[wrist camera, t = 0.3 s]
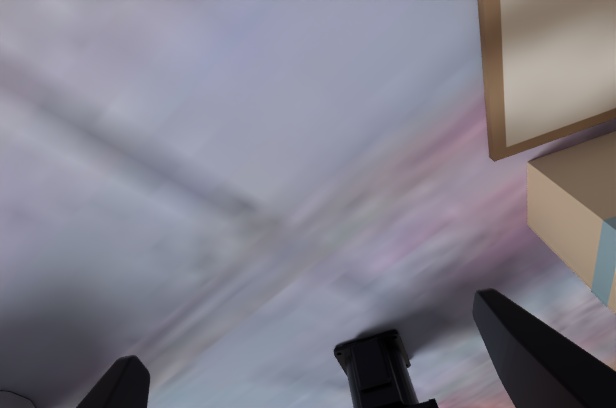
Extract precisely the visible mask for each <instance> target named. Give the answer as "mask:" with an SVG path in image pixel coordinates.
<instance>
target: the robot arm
mask: <svg viewBox="0 0 616 408" xmlns="http://www.w3.org/2000/svg"><path fill="white" fill-rule="evenodd" d="M473 317H474V320H475V322H476V325H477V327H478V329H479V332H480V334H481V336H482V339H483V341H484V343H485V346H486V348H487V350H488V353H489V355H490V357H491V360H492V362H493V364H494V367H495V369H496V371H497V374H498V376H499V378H500V380H501V382H502V384H503V385H504V387H505V389H506V391H507V393H508V395H509V396H510V398H511V400H512V402H513V404H514V405H515V407H516V408H616V371H614V370H613V369H612V368H610V367H609V366H607V365H606V364H604V363H603V362H601V361H600V360H598V359H597V358H595V357H594V356H592V355H591V354H589V353H588V352H586V351H585V350H584V349H582V348H581V347H579V346H578V345H576V344H575V343H573V342H572V341H570V340H569V339H567V338H566V337H564V336H563V335H561V334H560V333H558V332H557V331H556V330H554V329H553V328H551V327H550V326H548V325H547V324H545V323H544V322H542V321H541V320H539V319H538V318H536V317H535V316H533V315H532V314H530V313H529V312H528V311H526V310H525V309H523V308H522V307H520V306H519V305H517V304H516V303H514V302H513V301H511V300H510V299H508V298H507V297H505V296H504V295H502V294H501V293H500V292H498V291H497V290H495V289H492V288H488V289H482V290H478V291H476V293H475V297H474V304H473ZM334 356H335V357H336V359H337V360H338V362H339V364H340V365H341V367H342V368H343V370H344V372H345V373H346V375H347V377H348V381H349V386H350V391H351V397H352V402H353V407H354V408H438V405H437V403H436V400H435V398H434V399H430V400H429V401H427V402H423V403H419V402H418V400H417V397H416V394H415V391H414V388H413V385H412V382H411V379H410V376H409V373H408V370H407V368H409V367H410V366H411V364H410V362H409V359H408V356H407V354H406V351H405V349H404V346H403V343H402V341H401V338H400V336H399V333H398V331H396V330H393V331H389V332H386V333H383V334H380V335H376V336H373V337H370V338H366V339H363V340H360V341H357V342H353V343H350V344H347V345H343V346H340V347H337V348H335V349H334ZM149 385H150V374H149V371H148V369H147V368H146V367H145V366H144V364H143V363H142V362H141V361H140V359H139V358H138V357H137V356H135V355H131V356H125V357H121V358H119V359H118V360H116V361H115V362H114V364H113V365H112V366H111V367H110V368H109V369H108V371H107V372H106V373H105V374H104V375H103V377H102V378H101V379H100V380H99V381H98V382H97V384H96V385H95V386H94V387H93V388H92V389H91V391H90V392H89V393H88V394H87V395H86V396H85V398H84V399H83V400H82V401H81V402H80V403H79V405H78V406H77V407H76V408H147V403H148V394H149Z"/></svg>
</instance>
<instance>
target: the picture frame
mask: <svg viewBox="0 0 616 408" xmlns="http://www.w3.org/2000/svg"><path fill="white" fill-rule="evenodd" d="M478 11H479V24H480V37H481V51H482V64H483V77H484V91H485V104H486V117H487V131H488V144H489V157H490V158H491V159H492V160H493V161H494V162H495V161H497V160H500V159H503V158H506V157H509V156H511V155H514V154H517V153H520V152H523V151H525V150H528V149H531V148H534V147H537V146H539V145H542V144H545V143H548V142H551V141H553V140H556V139H559V138H562V137H565V136H567V135H570V134H573V133H576V132H579V131H581V130H584V129H587V128H590V127H593V126H595V125H598V124H601V123H604V122H607V121H609V120H612V119H615V118H616V0H478Z"/></svg>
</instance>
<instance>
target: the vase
mask: <svg viewBox="0 0 616 408" xmlns="http://www.w3.org/2000/svg"><path fill="white" fill-rule="evenodd" d="M0 408H35V407H34V405H33V404H32V402H31V401H30V400H28V399H26V398H23V397H21V396H18V395H16V394H13V393H11V392H6V391H0Z"/></svg>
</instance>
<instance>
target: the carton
mask: <svg viewBox="0 0 616 408" xmlns="http://www.w3.org/2000/svg"><path fill="white" fill-rule="evenodd" d="M527 225H528V226H529V227H530V228H531V229H532V230H533V231H534V232H535V233H536V234H537V236H538V237H539V238H540V239H541V240H542V241H543V242H544V243H545V244H546V245H547V246H548V247H549V248H550V249H551V250H552V251H553V252H554V253H555V254H556V255H557V256H558V257H559V258H560V259H561V260H562V261H563V262H564V263H565V264H566V265H567V266H568V267H569V268H570V269H571V270H572V271H573V272H574V273H575V274H576V275H577V276H578V277H579V278H580V279H581V280H582V281H583V282H584V283H585V284H586V285H587V286H588V287H589V288H590V289H591V292H592V293H593V294H594V295H595V296H596V297H597V298H598V299H599V300H600V301H601V302H602V303H603V304H604V305H605V306H606V307H609V308H610V309H611V310H612V311H613V312H614V313H615V314H616V131H614V132H611V133H608V134H606V135H603V136H600V137H597V138H594V139H591V140H588V141H586V142H583V143H580V144H577V145H574V146H571V147H569V148H566V149H563V150H560V151H557V152H554V153H552V154H549V155H546V156H543V157H540V158H537V159H535V160H532V161H529V162H527Z"/></svg>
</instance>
